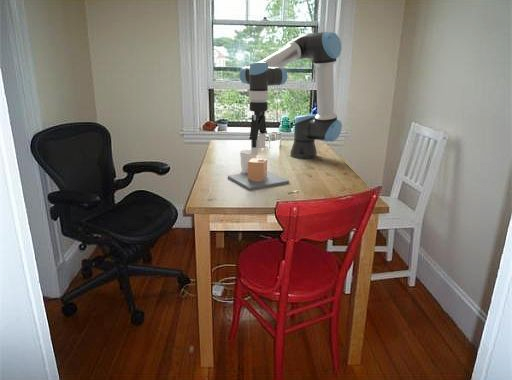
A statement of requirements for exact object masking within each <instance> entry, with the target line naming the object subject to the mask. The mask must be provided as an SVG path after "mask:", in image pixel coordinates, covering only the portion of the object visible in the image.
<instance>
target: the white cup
mask: <svg viewBox="0 0 512 380" xmlns="http://www.w3.org/2000/svg"><path fill="white" fill-rule="evenodd" d="M239 153H240V155H239V156H240V167H241V173H248V161H249V160H251V159H252V158H258V157H257V156H258V155H251V149H242V150H240V152H239Z"/></svg>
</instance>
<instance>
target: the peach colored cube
mask: <svg viewBox="0 0 512 380" xmlns="http://www.w3.org/2000/svg"><path fill="white" fill-rule="evenodd" d="M267 171H268V159H267V158H258V157H256V158H252V159H251V160H249V161H248V180H260V181H264V179H265V178H266V177H267Z"/></svg>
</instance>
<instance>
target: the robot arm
mask: <svg viewBox="0 0 512 380" xmlns="http://www.w3.org/2000/svg"><path fill="white" fill-rule="evenodd" d="M341 52H342V41H341V38H340V37H339V36H338V34H337V33H336V32H333V31H332V32H331V31H330V32H329V31H325V32H324V31H323V32H314V33H313V32H312V33H311V32H310V33H305V34H302V35H300V36H298V37H296V38H294V39H292V40H290V41H289V42H287V43H286V44H285V46H283V48H281V49H279V50H278V51H276V52H274V53H272V54H271V55H269V56H267V57H266V58H264V59H262V60H260V61H253V62H250V63H249V66H248V65H247V66H244V67H243V66H242V68H241V69H240V71H239V75H238V76H239V81H241V83H242V84H244V85H249V92H248V96H249V101H250V102H249V111H250V112H253V114H251V123H250V131H249V132H250V133H249V138H248V139H249V140H251V141H250V143H251V145H250V146H251V149H250V150H251V155H257V156H258V155H259V149H265V148H266V134H267V133H268V131H267V123H266V115H265V114H266V112H267V111H268V100H269V95H268V93H269V91H268V90H269V89H268V88H269V86H270V87H271V86H272V87H273V86H281V85H282V86H283V85H284V84H285V83H286V82H287V80H288V72H287V70H286V68H284V67H285V66H287V65H289V64H290V63H292V62H297V61H299V60H302V59H311V60H312V64H313V65H314V66H315V77H316V79H315V82H316V84H315V85H316V108H317V113H316V114H305V115H297V116H296V117H295V118H294V126H293V127H294V132H293V133H294V135H293V144H292V147H291V149H290V157H292V158H294V159H295V158H296V159H303V160H304V159H314V158H317V156H318V151H317V147H316V140H317V141H322V142H323V141H324V142H332V143H333V142H335V141H337V140H338V139H339V137H340V135H341V132H342V127H343V125H342V121H341V120H339V119H338V115H337V113H335V96H334V95H335V90H334V88H335V87H334V86H335V83H334V82H335V81H334V65H335V64H336V62H337V59H338V58H339V57H340V55H341Z"/></svg>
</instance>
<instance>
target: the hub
mask: <svg viewBox="0 0 512 380" xmlns="http://www.w3.org/2000/svg"><path fill="white" fill-rule="evenodd" d="M227 179H228V180H230V181H232V182H234V183H236V184H238V185H239V186H241V187H243V188H244V189H246V190H248V191H254V190H259V189H264V188H265V189H266V188H271V187H276V186H281V185H287V184H290V180H289V179H287V178H284V177H282V176H281V175H278V174H275V173H273V172H271V171H269V170H267V177H266V178H265V179H264V181H260V180H248V173H243V172H241V173H236V174H231V175H227Z"/></svg>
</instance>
